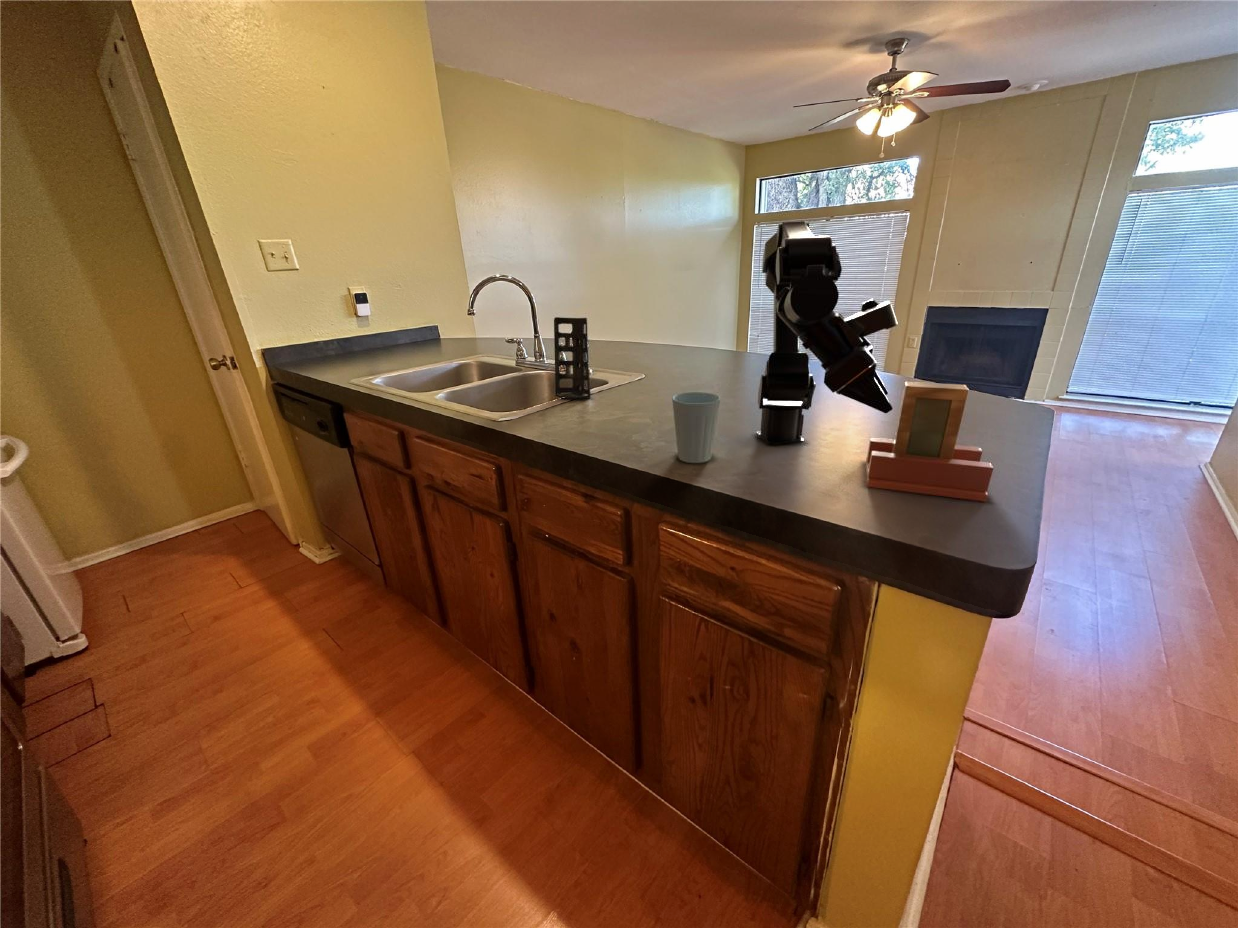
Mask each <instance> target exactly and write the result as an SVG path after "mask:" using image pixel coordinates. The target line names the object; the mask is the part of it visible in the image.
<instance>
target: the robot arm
mask: <svg viewBox="0 0 1238 928" xmlns="http://www.w3.org/2000/svg"><path fill="white" fill-rule="evenodd" d="M761 266H762V267H761V273H762V274H764V279H765V281H764V283H765V286H766V287H767V288H768V289H769V291H770V292H771V293H772V294H773V335H772V336H773V337H772V338H773V344H772V345H773V347H772V349H773V350H772V352H771V353H770V354H769V356H768V359H767V360H766V364H765V368H764V374H761V375H760V380H759V386H758V393H757V406H758V409H759V410H761V420H760V431H756V432H755V433H756V436H758V437H759V438H760V439H761V440H763V441H764V442H766V443H767V444H768V445H771V446H774V445H775V446H776V445H788V444H798V443H799V444H800V443H804V442H805V439H804V438H803V437H802V436H803V430H804V421H805V420H804V419H805V414H804V413H803V410H806V411H809V409H810V408H812V403H813V402H812V401H813V397H814V393H815V389H816V387H817V383H816V382H815V380H814V375H813V374H811V373H810V358H809V357H810V356H809V355H808V353H807V352H803V351H802V352H801V350H800V346H799V345H800V344H799V343H800V341H801V346H803V348H804V349H805V350H809V351H810V352H811V353H812V354H813V355H814V356H815V357H816V358H817V360H818V361H819V362H820V363H821V364H820V366H821V368H823V370H824V377H823V384H824V385H825V386H826V387H827V388H828V390H829V391H830V392H831V393H833V394H834V393H836V394H837V395H838V396H839V395H841V396H843V397H846V398H848V399H851V400H853V401H856V402H858V403H860V404H863V405H864V406H867V407H870V408H872V409H874V410H876V411H879V412H881V413H883V414H889V412H891V411H893V406H892V404H891V402H890V401H889V399H888V397H887V396H888V394H889V391H888V390H887V387H886V386H885V384H884V382H883V380H882V378H881V377H880V375H879V373H878V372H877V370H876V369H877V365H878V364H877V360H876V359H875V357H874V356H873V351H874V348H873V345H872V344H871V340H869V339H868V338H867V336H869V335H872V334H875V333H878V332H880V331H882V330H889V329H893V328H894V327H896V326H898V321H897V317H896V315H895V312H894V308H893V306H892V303H891V302H890V300H886V301H883V302H881V303H878V302H877V301H876V300H875V299H874V298H871V299H869V300H867V301H864V302H862V304H861V308H860V312H856V313H855V314H853V315H850V316H849V317H845V316H844V315H843V314H842V313H841V312H839V313H838V312H835V311H834V310H835V308H836V306H837V304H838V303H839V302H838V301H839V297H840V292H839V289H838V286H837V284H836V283H837V282H838V281H839V278H841V275H842V272H843V267H842V263H841V257H840V253H839V252H838V251H837V246H836V244H833V240H832V237H831V236H829V235H818V236H817V235H816V236H815V235H814V234H813V233H812V231H811V229H810V222H808V221H807V222H806V221H805V220H795V221H782V222H781V223H778V225H777V229H776V232H775V233H774V234H773V235H772V236H771V237H770V238H768V240H767V241H765V243H764V248H763V256H762V264H761Z"/></svg>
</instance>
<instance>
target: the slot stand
mask: <svg viewBox="0 0 1238 928" xmlns="http://www.w3.org/2000/svg"><path fill="white" fill-rule="evenodd" d="M893 444H894V438H893V439H892V438H883V437H882V438H881V437H869V443H868V449H867V455H866V457H865V458H866V459H865V472H866V474H865V475H866V486H867V488H876V489H884V490H891V491H898V492H899V491H900V492H906V493H907V492H908V493H913V494H914V493H915V494H922V495H930V496H931V495H932V496H938V497H946V498H954V499H962V500H969V501H970V500H971V501H977V502H985V503H986V502H987V501H988V498H989V494H988V490H989V486H990V484H991V483H990V482H991V479H992V476H993V472H994V467H993V465H992V464H991V462H985V461H981V458H982V455H983V451H982V449H981V448H980V447H979V446H969V445H959V444H956V445H955V449H954V453H953V457H952V459H947V458H937V457H927V456H917V455H907V454H897V453H892V449H893Z"/></svg>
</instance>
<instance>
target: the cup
mask: <svg viewBox="0 0 1238 928" xmlns="http://www.w3.org/2000/svg"><path fill="white" fill-rule="evenodd" d="M671 400H672V408H673V409H672V411H673V420H674V430H675V439H676V449H677V457H678V459H679V460H680V461H682V462H685V463H690V464H701V463H702V464H703V463H705V462H708V461H710V460H711V459H712V453H713V447H714V441H715V435H716V429H717V422H718V415H719V409H720V403H721V397H720V395H717V394H715V393H712V392H703V391H690V392H688V391H687V392H682V393H677V394H675V395H673V396H672V397H671Z"/></svg>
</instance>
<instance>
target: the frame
mask: <svg viewBox="0 0 1238 928" xmlns="http://www.w3.org/2000/svg"><path fill="white" fill-rule="evenodd" d="M969 391H970V390H969V388H968V387H967V385H966V384H956V383H939V382H937V383H936V382H923V381H921V382H920V381H905V382H904V386H903V391H902V396H901V401H900V406H899V413H898V417H897V423H896V428H895V434H894V438H893V439H894V444H893V449H892V453H897V454H907V455H917V456H927V457H937V458H947V459H952V457H953V453H954V449H955V445H957V440H958V437H959V432H960V428H961V425H962V419H963V416H964V411H965V407H966V403H967V399H968V395H969Z"/></svg>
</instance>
